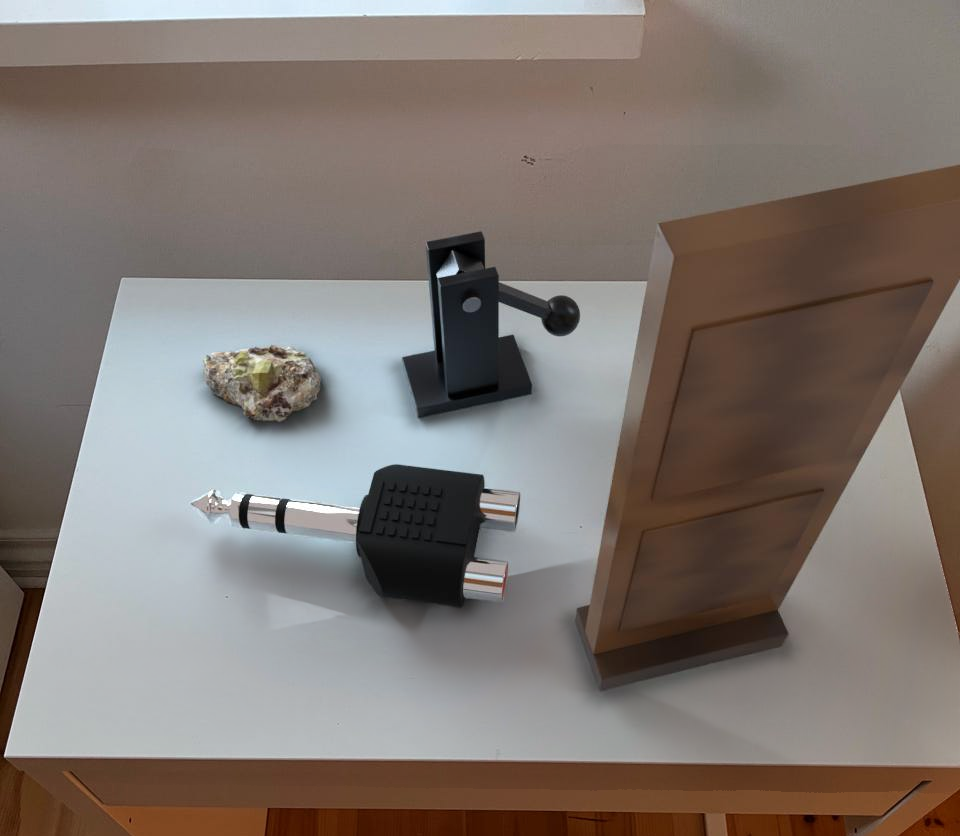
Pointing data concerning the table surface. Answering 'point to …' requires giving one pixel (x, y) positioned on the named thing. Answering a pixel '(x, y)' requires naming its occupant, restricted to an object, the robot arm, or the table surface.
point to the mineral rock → (263, 380)
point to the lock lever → (522, 298)
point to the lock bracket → (464, 338)
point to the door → (757, 409)
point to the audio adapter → (397, 530)
